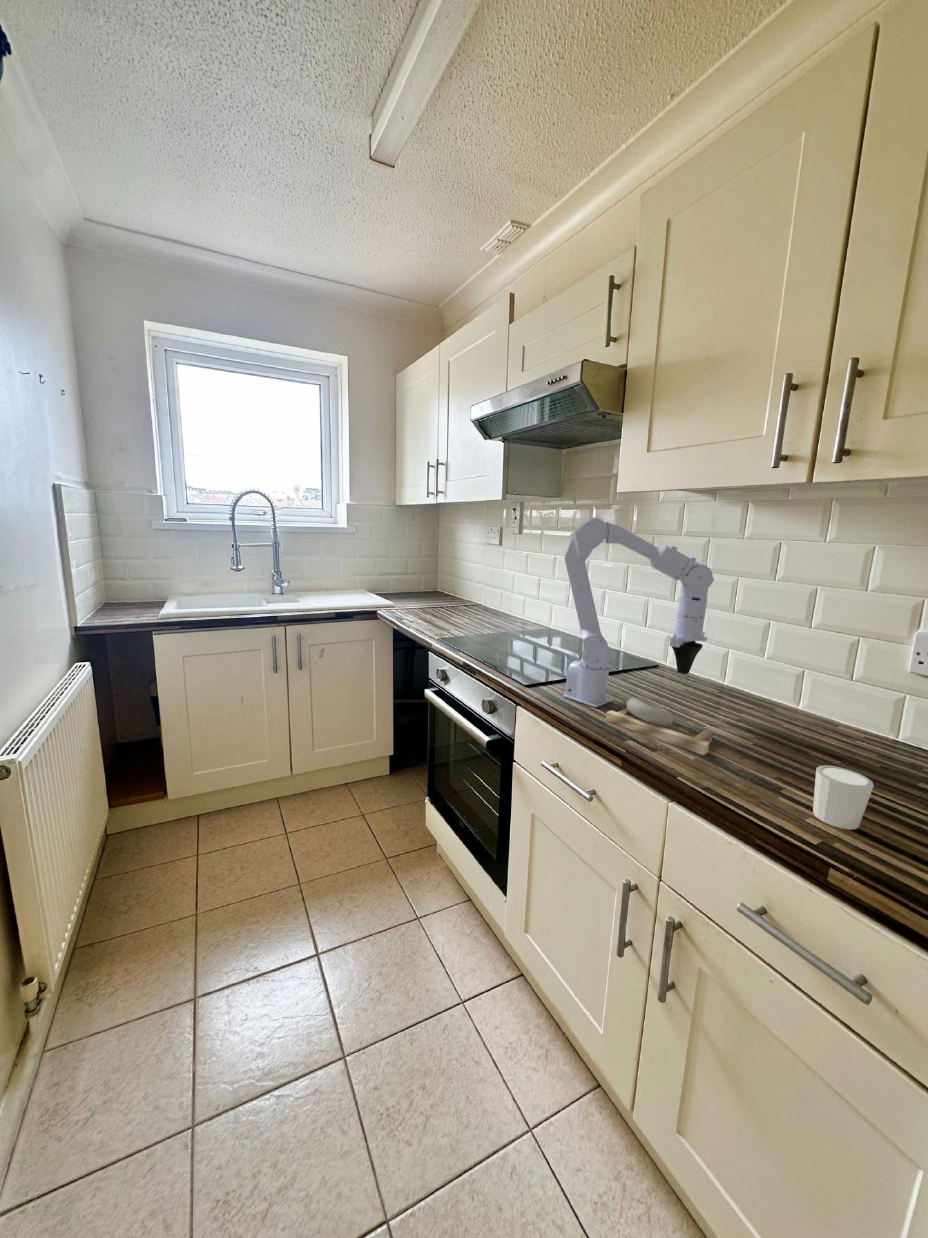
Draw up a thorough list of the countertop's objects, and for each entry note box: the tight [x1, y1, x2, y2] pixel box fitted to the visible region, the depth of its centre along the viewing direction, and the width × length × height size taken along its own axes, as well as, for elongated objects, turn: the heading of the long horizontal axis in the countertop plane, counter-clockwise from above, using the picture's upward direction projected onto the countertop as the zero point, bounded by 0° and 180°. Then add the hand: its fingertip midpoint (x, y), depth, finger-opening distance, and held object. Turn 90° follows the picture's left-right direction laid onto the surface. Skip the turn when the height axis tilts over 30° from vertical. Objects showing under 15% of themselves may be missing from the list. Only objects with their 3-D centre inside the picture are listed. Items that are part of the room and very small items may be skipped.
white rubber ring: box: [626, 697, 674, 728], centre depth 106 cm, size 10×4×10 cm
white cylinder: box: [812, 765, 875, 831], centre depth 74 cm, size 7×7×7 cm
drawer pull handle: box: [605, 707, 714, 756], centre depth 103 cm, size 21×8×2 cm, turn 44°
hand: (683, 672), depth 115 cm, fingers closed
